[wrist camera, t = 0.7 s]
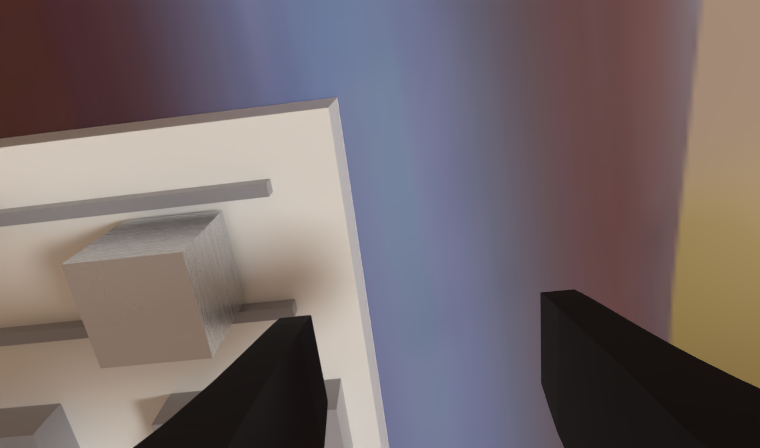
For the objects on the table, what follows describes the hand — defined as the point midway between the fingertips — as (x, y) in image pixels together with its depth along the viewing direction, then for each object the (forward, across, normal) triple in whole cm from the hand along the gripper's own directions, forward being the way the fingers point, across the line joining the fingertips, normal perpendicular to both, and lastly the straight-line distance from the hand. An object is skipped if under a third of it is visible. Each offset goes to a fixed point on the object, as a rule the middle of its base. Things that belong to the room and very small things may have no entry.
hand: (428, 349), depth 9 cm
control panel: (+8, +11, +4) cm, 14 cm away
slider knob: (+6, +7, 0) cm, 9 cm away
